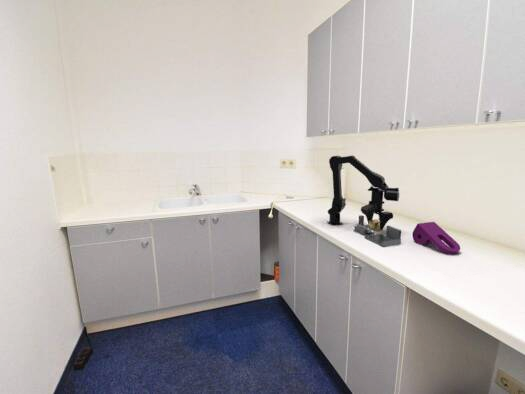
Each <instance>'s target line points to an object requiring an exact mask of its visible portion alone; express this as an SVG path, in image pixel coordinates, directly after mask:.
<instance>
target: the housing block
mask: <svg viewBox="0 0 525 394" xmlns="http://www.w3.org/2000/svg"><path fill="white" fill-rule="evenodd" d="M367 226H369V227H371V228H372V229H374V231H375V232H380V231H383V229H382V230H380V220H379V219H378V218H377V219H372V220H369V224H368V225H367Z"/></svg>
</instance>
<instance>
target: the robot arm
mask: <svg viewBox="0 0 525 394" xmlns="http://www.w3.org/2000/svg"><path fill="white" fill-rule="evenodd" d="M328 162H329V168H330V170H331V172H332V184H333V185H332V188H333V198H332V201H331V207H330V208H329V209H328V210H327V213H328V215H329V221H327V223H328V224H329V225H332V226H336V225H337V226H338V225H343V223H342V222H341V213H342V211H343V210H344V209H345V208H346V205H347V204H346V198H343V194H342V172H341V171H342V168H343V164H349V165H351V166H352V167H353V168H355V169H356V170H357V171H358V172H360V173H361V175H363V176H364V177H365V178H366V179H367V181H368V182H369V184H370V187H369V188H368V189H367V191H368V192H371V199H370V200H369V201H368V204H365V205H363V206H361V208H360V212H362V214H363V215H365V217H366V221H367V223H368V225H369V220H374V219H373V218H374V214H375V215H378V218H377V220H380V230H382V231H383V229H384V228H385V226H387V223H388V222H389V220H391V219H394V214H393V212H390V211H385V209H384V208H383V206H384V205H383V204H385V201H388V202H389V201H390V202H399V199H400V190H399V189H400V188H399V187H389V186H388V184H387V183H386V179H385V177H384V176H383V175H381V174H379V173H377V172H375V171H373V170H371V169H370V168H369V167H367V165H365V164H364V163H363V162H362V161H360V160H359V159H358V158H357V157H356V156H355V155H348V156H341V155H333V156H331V157H330V158H329V161H328ZM383 199H385V201H384V200H383Z"/></svg>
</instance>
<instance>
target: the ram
mask: <svg viewBox="0 0 525 394" xmlns="http://www.w3.org/2000/svg"><path fill="white" fill-rule="evenodd" d="M364 221H365V216H364V215H358V223H356V225H355V226H358V227H360V228H363V229H365V230H366V233H371V232H372V233H374V234H375V232H376V231H373V230H372V228H371V227H369V226H368V225H366V224H364V223H365V222H364Z"/></svg>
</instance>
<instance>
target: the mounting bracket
mask: <svg viewBox="0 0 525 394" xmlns="http://www.w3.org/2000/svg"><path fill="white" fill-rule="evenodd" d="M412 239H413V241H414V243H415V244H417V245H420V246H423V245H424V246H425V245H428V244H429V243H431V244H432V245H433V246H434V247H436V248H437V250H439V251H440V252H442V253H444V254H446V255H457V254H458V253H459V252H460V250H461V246H460V244H459V243H458V242H457V241H456V240H455V239H454V238H452V236H451V235H449V234H448V233H447V232H446V231H445V230H444V229H443V228H442V227H440V226H439V225H438V224H437V223H436V222H435V221H428V222H420V223H417V224H416V226H415V228H414V229H413V231H412Z"/></svg>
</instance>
